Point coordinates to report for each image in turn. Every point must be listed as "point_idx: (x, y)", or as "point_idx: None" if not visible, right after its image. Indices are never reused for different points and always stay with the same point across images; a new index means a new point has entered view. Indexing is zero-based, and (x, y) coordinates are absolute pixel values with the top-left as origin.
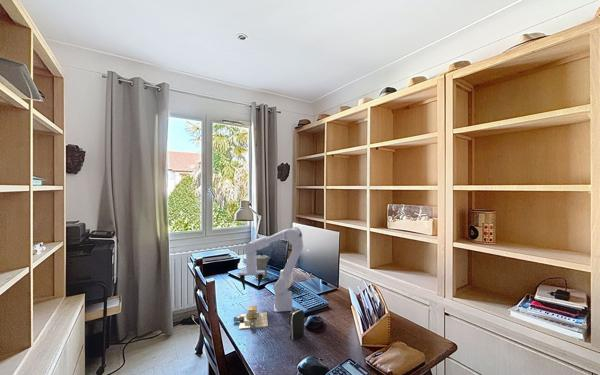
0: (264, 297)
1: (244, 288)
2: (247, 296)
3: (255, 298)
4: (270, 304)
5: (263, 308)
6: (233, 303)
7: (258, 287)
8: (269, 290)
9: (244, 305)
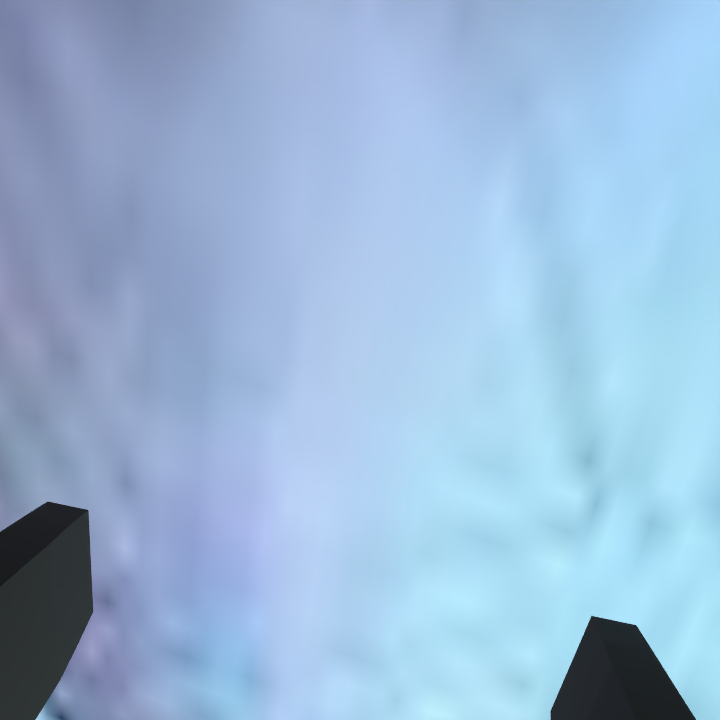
0: (126, 539)
1: (621, 647)
2: (405, 665)
3: (281, 560)
4: (12, 245)
5: (155, 111)
6: (712, 531)
7: (36, 526)
8: (47, 706)
9: (527, 384)
